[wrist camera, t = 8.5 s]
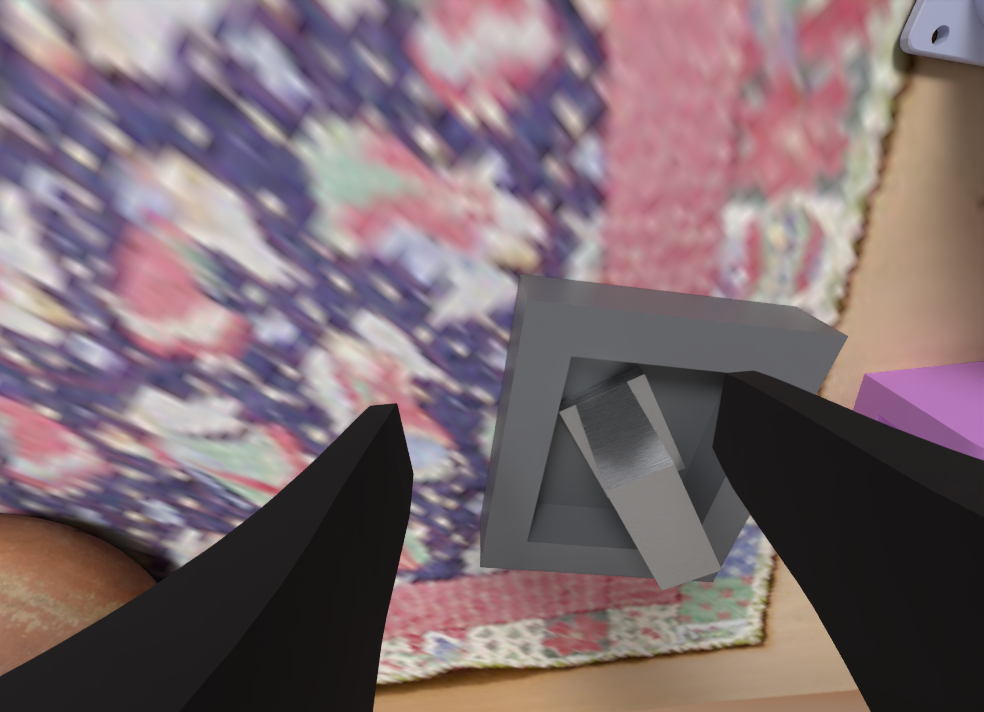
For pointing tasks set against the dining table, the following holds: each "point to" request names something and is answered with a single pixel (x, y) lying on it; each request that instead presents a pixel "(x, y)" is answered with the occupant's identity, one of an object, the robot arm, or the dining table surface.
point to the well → (675, 385)
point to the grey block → (641, 474)
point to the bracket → (930, 404)
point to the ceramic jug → (57, 585)
